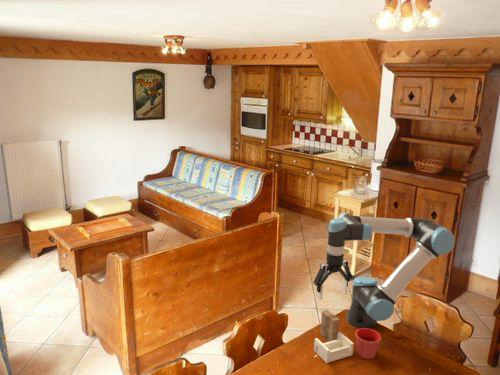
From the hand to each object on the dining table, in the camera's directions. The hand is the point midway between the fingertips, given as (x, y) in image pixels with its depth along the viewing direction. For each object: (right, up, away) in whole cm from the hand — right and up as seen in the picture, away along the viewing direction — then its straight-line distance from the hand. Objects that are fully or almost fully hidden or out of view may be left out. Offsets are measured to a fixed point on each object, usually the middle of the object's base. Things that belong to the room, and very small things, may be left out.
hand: (331, 295), depth 202 cm
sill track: (-1, -24, -6) cm, 25 cm away
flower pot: (+14, -25, -6) cm, 29 cm away
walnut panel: (-1, -22, +5) cm, 22 cm away
